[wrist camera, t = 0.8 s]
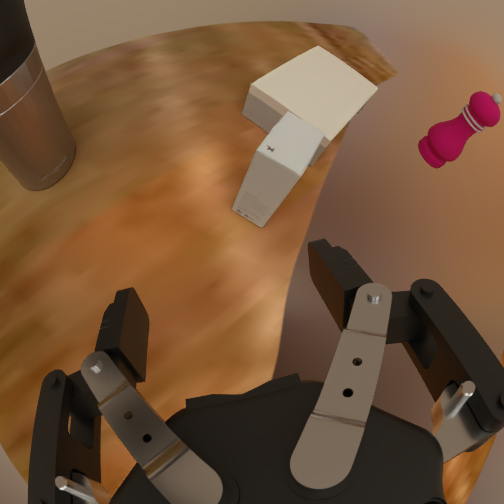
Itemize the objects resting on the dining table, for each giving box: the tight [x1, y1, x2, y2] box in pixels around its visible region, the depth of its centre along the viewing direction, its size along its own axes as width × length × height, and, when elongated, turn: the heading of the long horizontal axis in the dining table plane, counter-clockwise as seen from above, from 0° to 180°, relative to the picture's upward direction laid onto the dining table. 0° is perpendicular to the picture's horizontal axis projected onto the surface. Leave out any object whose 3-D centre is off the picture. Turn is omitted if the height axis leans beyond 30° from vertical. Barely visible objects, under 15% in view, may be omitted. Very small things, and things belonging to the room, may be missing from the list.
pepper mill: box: [418, 91, 502, 168], centre depth 36 cm, size 7×7×20 cm
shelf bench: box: [242, 46, 378, 166], centre depth 37 cm, size 12×18×6 cm, turn 142°
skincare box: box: [232, 111, 325, 228], centre depth 29 cm, size 6×4×12 cm
